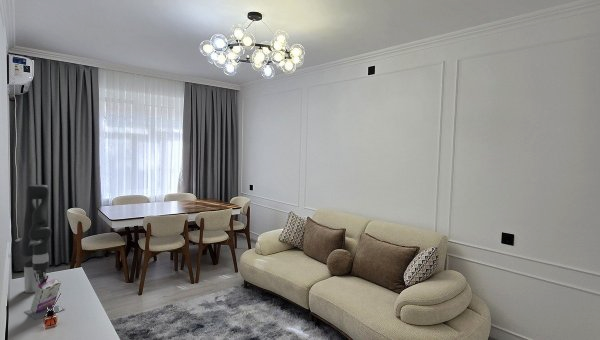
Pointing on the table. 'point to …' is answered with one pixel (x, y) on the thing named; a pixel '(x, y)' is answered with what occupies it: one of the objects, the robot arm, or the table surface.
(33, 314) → the mat
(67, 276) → the table surface
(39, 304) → the candy bar box
